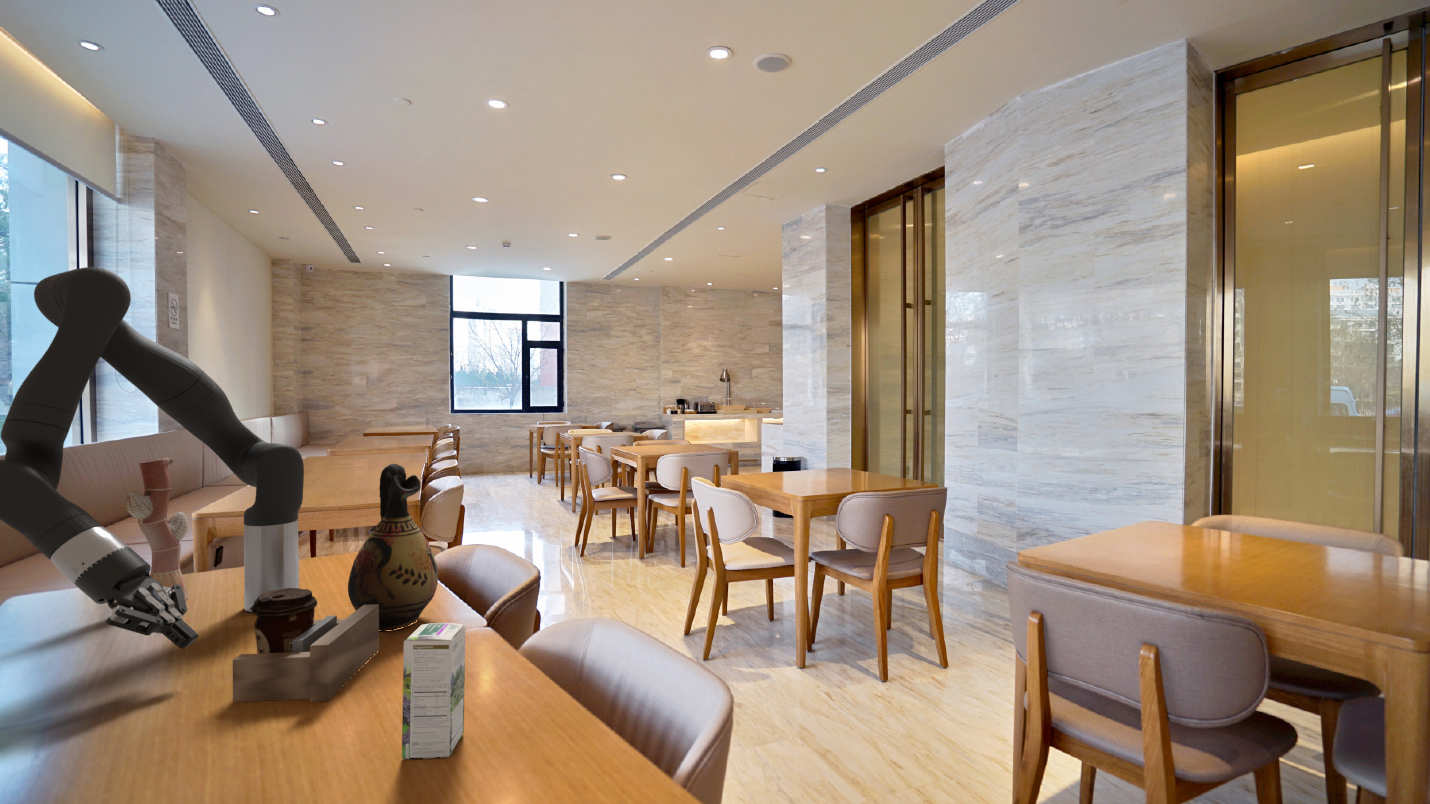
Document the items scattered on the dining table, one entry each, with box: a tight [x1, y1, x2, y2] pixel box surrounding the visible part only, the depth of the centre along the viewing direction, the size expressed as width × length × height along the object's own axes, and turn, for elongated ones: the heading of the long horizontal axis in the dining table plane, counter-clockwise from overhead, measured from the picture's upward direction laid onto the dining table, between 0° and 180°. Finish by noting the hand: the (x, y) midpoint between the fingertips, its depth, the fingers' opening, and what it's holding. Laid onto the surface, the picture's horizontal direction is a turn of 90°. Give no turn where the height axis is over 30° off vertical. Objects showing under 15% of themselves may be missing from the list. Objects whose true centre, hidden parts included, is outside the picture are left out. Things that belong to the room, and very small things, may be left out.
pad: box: [292, 614, 338, 652], centre depth 102 cm, size 1×11×7 cm, turn 6°
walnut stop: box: [232, 604, 380, 703], centre depth 102 cm, size 13×18×8 cm
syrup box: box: [401, 622, 466, 760], centre depth 82 cm, size 6×6×14 cm
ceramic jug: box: [347, 463, 439, 630], centre depth 126 cm, size 17×15×30 cm
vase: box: [125, 457, 189, 601], centre depth 136 cm, size 11×7×30 cm
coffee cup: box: [250, 587, 318, 654], centre depth 101 cm, size 9×8×13 cm
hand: (191, 642), depth 100 cm, fingers closed
